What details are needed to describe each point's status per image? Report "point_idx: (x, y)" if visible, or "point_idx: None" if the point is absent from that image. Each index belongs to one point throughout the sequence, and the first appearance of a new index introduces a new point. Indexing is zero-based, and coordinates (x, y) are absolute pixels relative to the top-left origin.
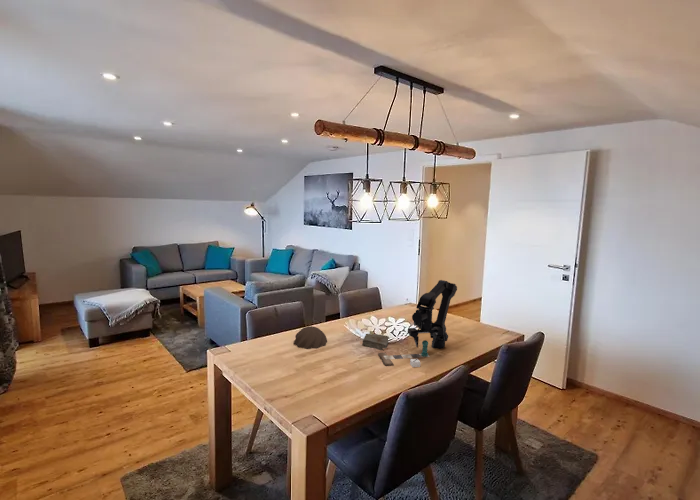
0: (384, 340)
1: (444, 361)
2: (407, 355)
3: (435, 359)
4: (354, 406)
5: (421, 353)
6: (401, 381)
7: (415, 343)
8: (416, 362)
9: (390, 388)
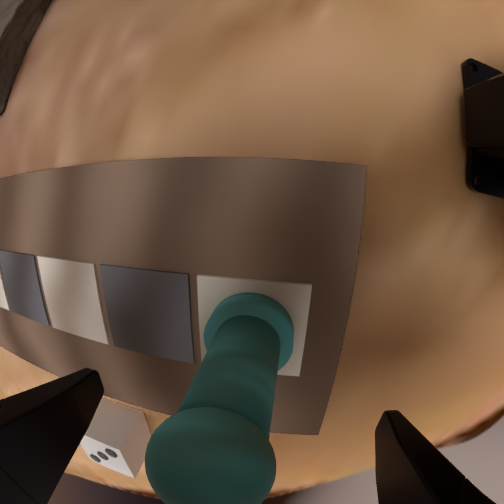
0: (3, 10)
1: (397, 407)
2: (74, 283)
3: (350, 370)
4: None
5: (205, 333)
6: (74, 455)
7: (45, 392)
8: (111, 467)
9: None
